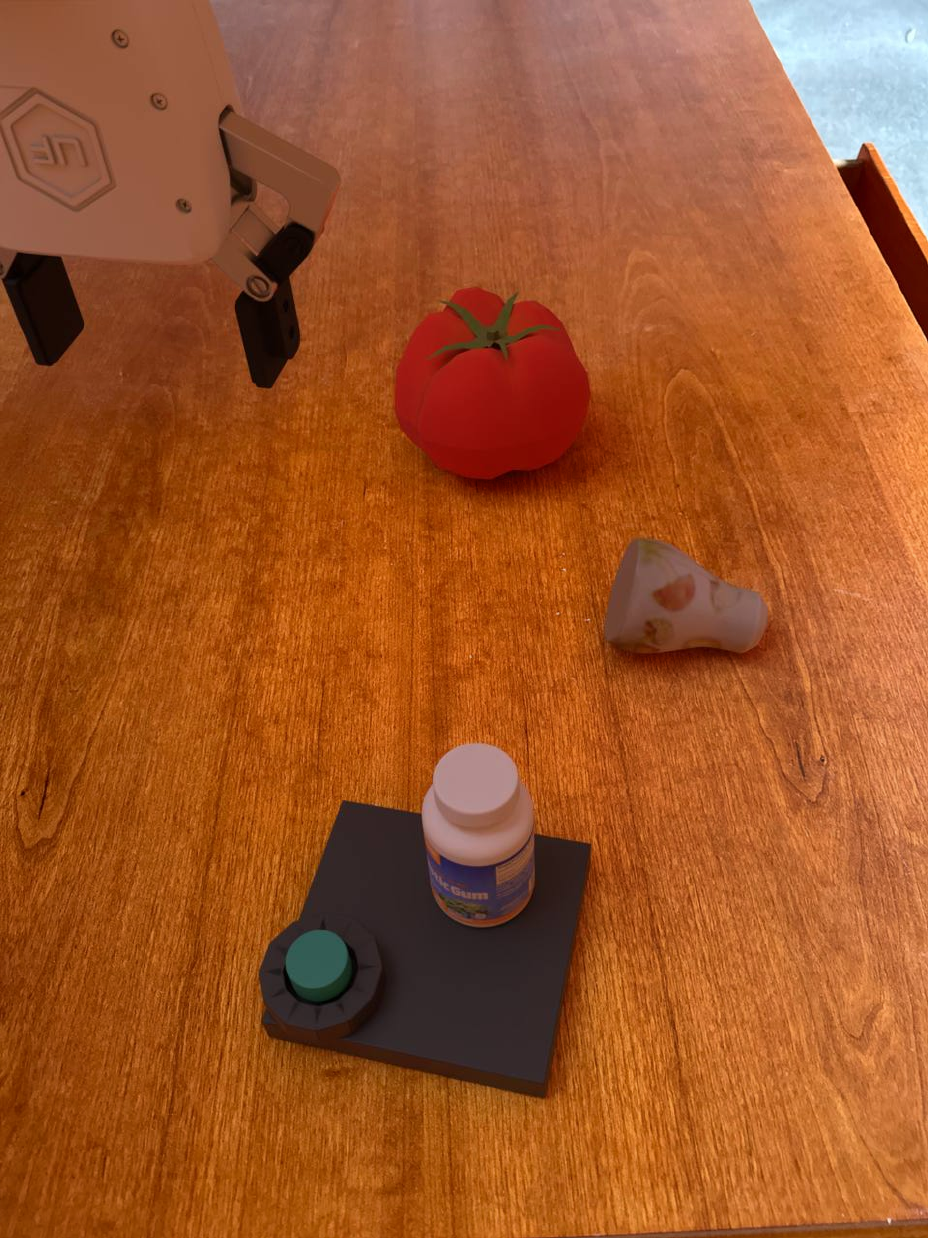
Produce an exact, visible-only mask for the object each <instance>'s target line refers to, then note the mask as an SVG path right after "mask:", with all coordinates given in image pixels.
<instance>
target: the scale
mask: <svg viewBox="0 0 928 1238" xmlns="http://www.w3.org/2000/svg"><path fill="white" fill-rule="evenodd" d="M591 860H592V844H591V843H589V842H583V841H578V840H574V839H568V838H562V837H556V836H549V835H544V834H538V833H534V864H535V882H534V888H533V891H532V894H531V897H530V899H529V901H528V903H527V904H526V906H525V907H524V908H523V910H522V911H521V912H520V913H519V914H517V915H516V916H515V917H513V918H512V919H510V920H508V921H507V922H504V923H502V924H499V925H496V926H492V927H472V926H467V925H464V924H461V923H459V922H457V921H455V920H453V919H452V918H451V917H449V916H448V915H447V914H446V913H445V912H444V911H443V910H442V909H441V908H440V906H439V905H438V903H437V901H436V899H435V897H434V894H433V891H432V886H431V881H430V873H429V866H428V858H427V851H426V844H425V838H424V830H423V823H422V813H419V812H414V811H409V810H403V809H397V808H392V807H385V806H380V805H375V804H374V805H373V804H369V803H363V802H357V801H351V800H345V799H343V800H341V804H340V807H339V809H338V812H337V814H336V817H335V820H334V823H333V824H332V828H331V831H330V834H329V836H328V839H327V841H326V844H325V847H324V850H323V852H322V855H321V858H320V860H319V863H318V866H317V868H316V871H315V874H314V877H313V879H312V882H311V885H310V888H309V890H308V893H307V895H306V898H305V900H304V904H303V906H302V909H301V912H300V914H299V916H298V917H299V918H298V919H297V920H295V921H292V922H291V923H290V924H288V925H287V926H286V927H285V928H284V929H283V930H282V931H281V932H280V933H278V935H276V936H275V937H274V938H273V939H272V940H271V941H270V942H269V943H268V946H267V949H266V951H265V954H264V957H263V959H262V962H261V964H260V967H259V969H258V974H257V975H258V980H259V985H260V992H261V998H262V1003H263V1004H264V1007H265V1009H264V1012H263V1015H262V1018H261V1024H262V1027H263V1029H264V1030H265V1033H266V1035H267V1037H268V1038H270V1039H271V1038H272V1039H276V1040H280V1041H285V1042H289V1043H293V1044H299V1045H303V1046H309V1047H313V1048H317V1049H321V1050H325V1051H330V1052H334V1053H339V1054H344V1055H348V1056H351V1057H356V1058H361V1059H365V1060H369V1061H373V1062H374V1061H375V1062H379V1063H383V1064H388V1065H391V1066H397V1067H401V1068H405V1069H410V1070H414V1071H418V1072H423V1073H426V1074H427V1073H428V1074H431V1075H432V1074H433V1075H437V1076H441V1077H445V1078H451V1079H454V1080H457V1081H458V1080H459V1081H463V1082H468V1083H472V1084H477V1085H481V1086H486V1087H491V1088H494V1089H498V1090H499V1089H500V1090H503V1091H507V1092H512V1093H516V1094H522V1095H524V1096H525V1095H526V1096H531V1097H535V1098H538V1099H543V1100H544V1099H546V1096H547V1092H548V1086H549V1081H550V1075H551V1070H552V1065H553V1061H554V1055H555V1050H556V1046H557V1045H556V1044H557V1040H558V1039H557V1038H558V1033H559V1029H560V1023H561V1019H562V1013H563V1007H564V1002H565V997H566V992H567V989H568V982H569V977H570V972H571V966H572V962H573V956H574V950H575V945H576V941H577V935H578V930H579V925H580V919H581V914H582V909H583V904H584V903H583V902H584V900H585V894H586V887H587V883H588V877H589V872H590V867H591V862H592V861H591ZM314 930H327V931H330V932H333V933H335V934H336V935H338V936H339V937H340V938H341V939H342V940H343V941H344V943H345V945H346V947H347V950H348V953H349V957H350V960H351V964H352V975H351V979H350V981H349V983H348V985H347V986H346V988H345V989H344V990H343V991H342V992H341V993H340V994H339V995H337V996H336V997H334V998H332V999H330V1000H327V1001H322V1002H314V1001H309V1000H307V999H304V998H303V997H301V996H300V995H299V994H298V993H297V992H296V991H295V989H294V988H293V986H292V983H291V981H290V978H289V976H288V973H287V970H286V956H287V953H288V950H289V948H290V947H291V945H292V944H293V942H294V941H295V940H296V939H297V938H299V937H300V936H302V935H303V934H305V933H307V932H310V931H314Z"/></svg>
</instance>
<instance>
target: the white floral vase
mask: <svg viewBox="0 0 928 1238" xmlns="http://www.w3.org/2000/svg"><path fill="white" fill-rule="evenodd" d="M611 587H612V588H611V591H610V595H609V598H608V602H607V609H606V614H605V620H604V627H603V636H604V640H605V641H606V643H609V644H611V645H613V646H614V647H616V648H618V649H619V650H620V649H621V650H622V651H626V652H630V653H635V654H657V653H666V652H673V651H679V650H685V649H695V648H702V647H703V648H713V649H718V650H719V649H720V650H725V651H729V652H734V653H737V654H744V653H746V652H747V651H749V650H752V649H753V648H755V647H756V646H758V644H759V643H760V641H761V640H762V639H763V638H762V637H763V636H764V635H765V631H766V628H767V625H768V620H769V619H768V618H769V608H768V606H767V604H766V603H767V602H765V600H764V599H763V598H762V596H761V594H760V593H759V592H757V591H756V590H752V589H749V588H745V587H741V586H738V585H735V584H732V583H729V582H727V581H724V580H723V579H721V578H719V577H718V576H716V575H715V574H713V573H712V572H710V571H709V569H707V568H705V567H704V566H703V565H701V564H700V563H698V562H697V561H696V560H694V559H693V558H692V557H690V556H689V555H688V554H687V553H685V552H683V551H682V550H680V548H677V547H676V546H674V545H672V544H670V543H668V542H665V541H663V540H660V539H655V538H649V537H648V538H647V537H646V538H645V537H637V538H633V539H632V540H631V541H630V542H629V544H627V547H626V549H625V551H624V553H623V555H622V558H621V561H620V563H619V565H618V567H617V570H616V574H615V577H614V580H613V584H612V586H611Z"/></svg>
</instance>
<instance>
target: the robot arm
mask: <svg viewBox="0 0 928 1238" xmlns="http://www.w3.org/2000/svg"><path fill="white" fill-rule="evenodd" d="M243 109H244V107H243V105H242V101H241V96H240V93H239V90H238V85H237V83H236V79H235V75H234V72H233V68H232V64H231V62H230V59H229V55H228V52H227V49H226V46H225V42H224V39H223V35H222V33H221V29H220V26H219V23H218V20H217V18H216V15H215V12H214V9H213V6H212V3H211V1H210V0H0V280H1V282H2V284H3V287H4V289H5V292H6V294H7V296H8V299H9V301H10V304H11V307H12V309H13V312H14V315H15V316H16V320H17V322H18V325H19V326H20V330H21V331H22V333H23V335H24V338H25V340H26V343H27V345H28V347H29V350H30V352H31V355H32V357H33V361H34V362H35V364H36V365H38V366H42V367H43V366H45V367H52V366H53V365H55V364H57V363H58V362H59V360H60V359H61V358H62V357H63V356H64V355H65V353H66V352H67V350H68V349H70V347H71V346H72V344H73V343H74V342H75V340H76V339H77V338H78V337H79V336H80V334H81V333H82V331H84V329H85V320H84V317H83V315H82V312H81V308H80V306H79V304H78V303H79V302H78V301H77V297H76V295H75V292H74V288H73V286H72V283H71V280H70V278H69V274H68V272H67V269H66V267H65V266H66V265H65V263H64V260H63V258H72V259H83V260H84V259H85V260H99V261H109V262H111V261H112V262H122V263H137V264H150V265H165V266H167V265H168V266H190V265H196V264H202V263H204V262H207V261H208V260H211V261H212V262H213V263H214V264H215V265H216V266H217V267H218V268H219V269H220V270H221V271H222V272H223V273H224V274H226V276H227V277H228V278H230V280H232V282H234V283H235V284H236V285H237V286H238V288H239V289H241V290H242V291H241V292H240V293H239V295H238V296H237V298H236V299H235V302H234V313H235V317H236V321H237V322H236V323H237V325H238V330H239V333H240V338H241V342H242V346H243V350H244V354H245V359H246V363H247V367H248V371H249V375H250V380H251V382H252V384H255V386H256V387H257V388H261V389H272V388H273V387H274V385H275V383H276V382H277V380H278V378H279V376H280V375H281V373H282V371H283V370H284V368H285V366H286V365H287V363H288V361H291V360H293V359H294V358H295V356H296V355H297V352H298V350H299V348H300V345H301V330H300V324H299V320H298V315H297V310H296V303H295V299H294V294H293V289H292V288H293V287H292V283H291V279H290V276H291V275H292V274H293V273H294V272H295V271H296V270H297V269H298V268H299V266H301V265H302V263H303V262H304V261H305V260H306V259H307V258H308V257H309V255H310V253H311V252H312V250H313V249H314V247H315V245H316V244H317V243H318V241H319V239H320V237H321V236H322V234H323V233H324V231H325V225H326V223H327V220H328V219H329V216H330V213H331V211H332V208H333V206H334V203H335V200H336V198H337V194H338V193H339V190H340V186H341V183H342V177H341V174H340V172H339V170H337V168H336V167H334V165H332V164H329V163H327V162H326V161H324V160H322V159H320V158H318V157H317V156H315V155H313V154H311V153H309V152H308V151H306V150H304V149H302V148H300V147H298V146H297V145H294V144H293V143H291V142H289V141H287V140H286V139H284V138H282V137H280V136H278V135H276V134H274V133H273V132H271V131H269V130H267V129H265V128H263V127H261V126H260V125H258V124H256V123H254V122H252V121H250V120H249V119H247V118H246V116H245V113H244V110H243ZM258 183H259V184H262V185H263V186H265V187H267V188H269V189H271V190H273V191H274V192H276V193H278V194H280V195H281V196H282V197H284V199H285V200H286V201H287V204H288V213H287V216H286V219H285V220H286V221H285V223H284V224H283V225H282V227H281V228H280V227H279V226H278V224H276V222H275V221H273V220H272V218H270V217H269V215H267V214H266V213H265V211H264V210H263V209H262V208H260V206H259V205H258V204H256V202H255V201H256V199H257V197H258ZM232 230H233V231H232ZM234 232H236V233H237V234H238V235H239V236H240V237H241V238H242V239H243V240H244V241H245V242H246V243H247V244H248V246H250V247H251V248H252V249H253V250H254V251H255V252H256V253H257V255H256V253H254V252H253V251H252V250H251V249H250V247H248V246H247V244H246V243H244V242H243V241H242V240H241V239H240V238H239V237H238V236H237V235H236V234H235V233H234ZM62 257H63V258H62Z"/></svg>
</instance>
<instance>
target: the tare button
mask: <svg viewBox="0 0 928 1238" xmlns="http://www.w3.org/2000/svg"><path fill="white" fill-rule="evenodd" d="M286 970H287V973H288V976H289V978H290V981H291V983H292V986H293V988H294V989H295V991H296V992H297V993H298V994H299V995H300V996H301V997H303V998H304V999H307V1000H309V1001H314V1002H322V1001H327V1000H330V999H332V998H334V997H336V996H337V995H339V994H340V993H341V992H342V991H343V990H344V989H345V988H346V986H347V985H348V983H349V981H350V979H351V975H352V964H351V960H350V957H349V953H348V950H347V947H346V945H345V943H344V941H343V940H342V939H341V938H340V937H339V936H338V935H336V934H335V933H333V932H330V931H327V930H314V931H310V932H307V933H305V934H303V935H302V936H300V937H299V938H297V939H296V940H295V941H294V942H293V944H292V945H291V947H290V948H289V950H288V953H287V956H286Z"/></svg>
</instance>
